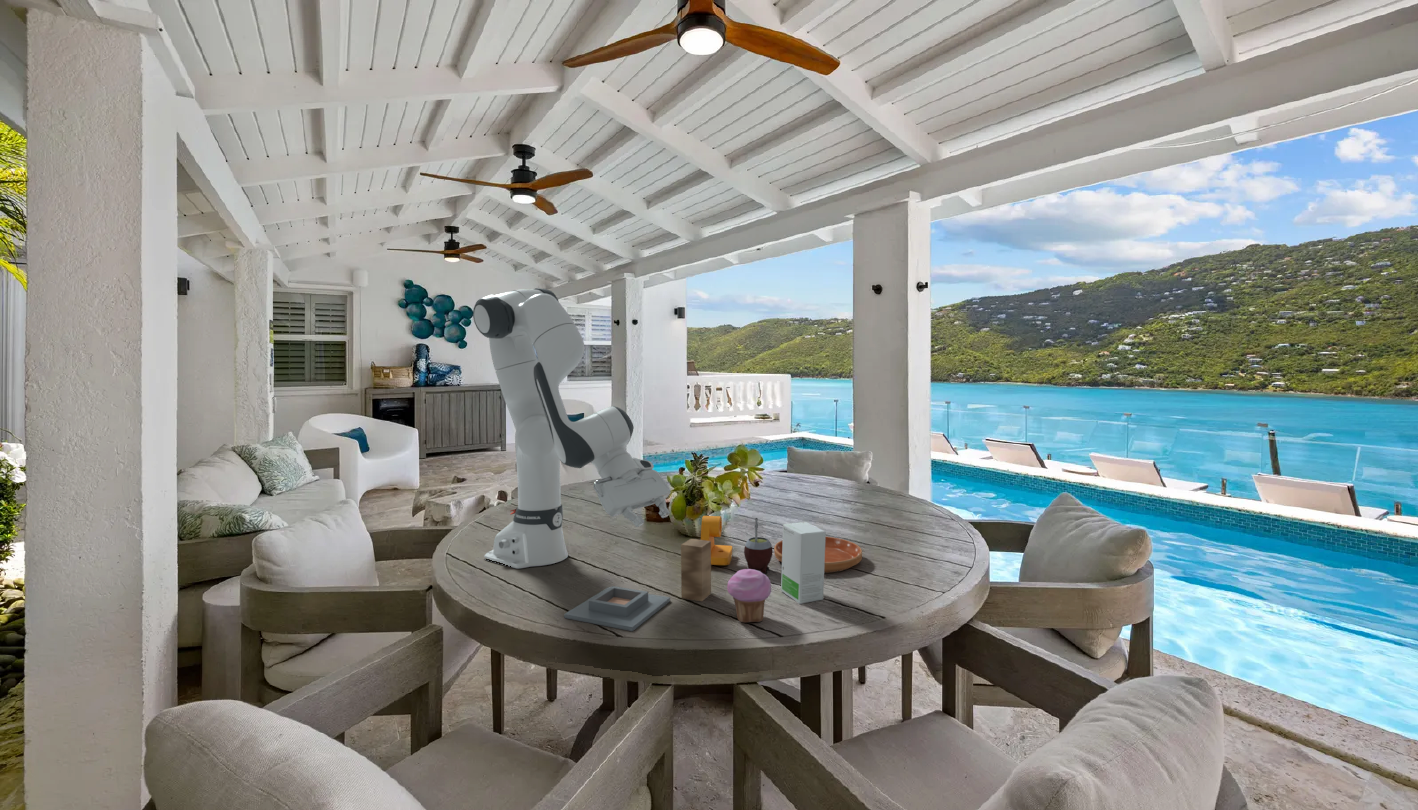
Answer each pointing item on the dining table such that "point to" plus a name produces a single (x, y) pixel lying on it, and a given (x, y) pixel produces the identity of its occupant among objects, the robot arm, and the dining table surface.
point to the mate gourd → (758, 552)
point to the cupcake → (749, 594)
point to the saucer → (834, 554)
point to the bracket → (708, 531)
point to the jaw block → (696, 569)
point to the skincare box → (803, 562)
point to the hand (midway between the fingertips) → (654, 520)
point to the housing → (618, 608)
